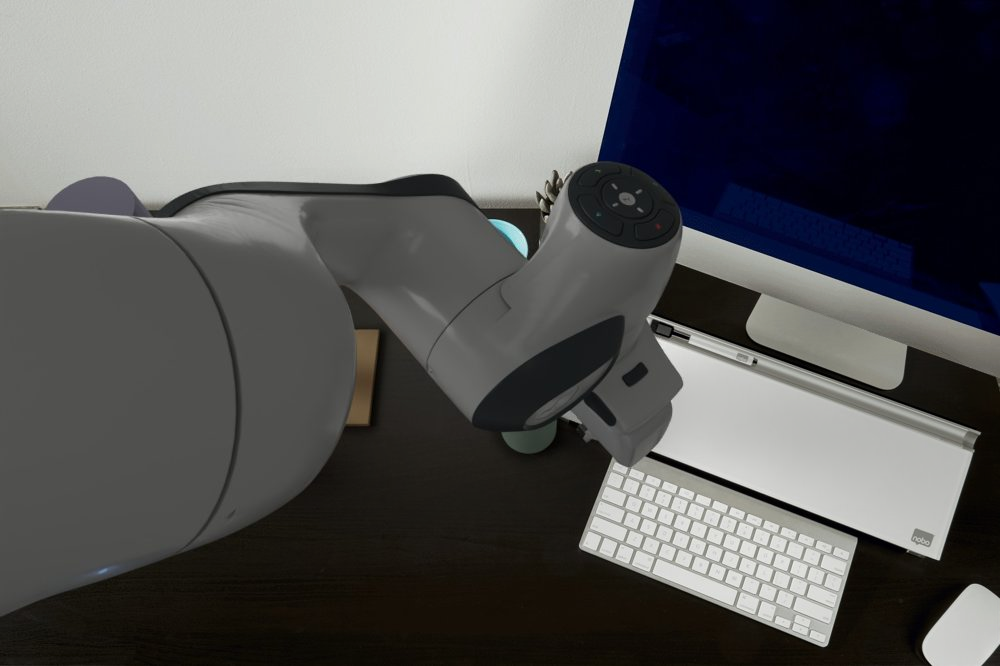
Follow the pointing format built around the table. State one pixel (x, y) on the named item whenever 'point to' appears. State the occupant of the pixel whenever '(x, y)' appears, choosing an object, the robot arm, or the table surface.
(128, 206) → the container
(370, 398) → the coaster
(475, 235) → the robot arm
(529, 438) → the bottle
